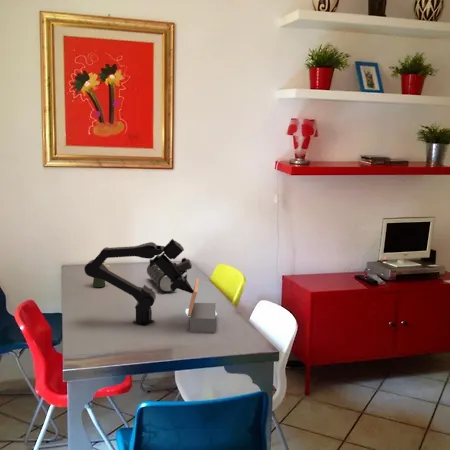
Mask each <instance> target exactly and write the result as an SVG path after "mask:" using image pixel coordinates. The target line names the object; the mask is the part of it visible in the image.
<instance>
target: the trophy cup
mask: <svg viewBox="0 0 450 450" xmlns="http://www.w3.org/2000/svg"><path fill="white" fill-rule="evenodd" d="M103 265H105V267H106V268H107V269H108V270H109V271H111V270H110V269H111V267H110V265H107V263H106V260H105V261H104V262H103ZM92 286H93V287H94V288H103V287H105V286H106V281H105V280H102V279H96V278H93V281H92Z"/></svg>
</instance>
